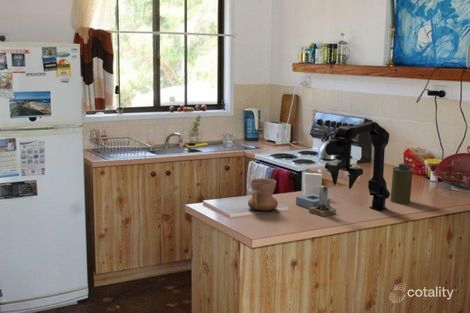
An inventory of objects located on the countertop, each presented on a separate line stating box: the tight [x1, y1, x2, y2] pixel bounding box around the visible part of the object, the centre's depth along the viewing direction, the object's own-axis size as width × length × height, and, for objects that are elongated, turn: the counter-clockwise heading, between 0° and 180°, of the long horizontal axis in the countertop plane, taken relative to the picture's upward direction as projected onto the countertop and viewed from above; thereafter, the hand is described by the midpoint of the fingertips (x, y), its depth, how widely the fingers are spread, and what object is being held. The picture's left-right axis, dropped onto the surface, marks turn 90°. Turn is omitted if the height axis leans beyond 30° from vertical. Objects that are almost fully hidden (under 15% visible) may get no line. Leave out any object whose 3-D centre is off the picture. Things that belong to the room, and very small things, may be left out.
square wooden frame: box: [308, 206, 337, 217], centre depth 287 cm, size 9×9×2 cm
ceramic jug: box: [247, 177, 279, 212], centre depth 289 cm, size 18×14×14 cm
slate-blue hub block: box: [295, 194, 331, 209], centre depth 300 cm, size 12×12×4 cm
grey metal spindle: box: [318, 184, 329, 211], centre depth 286 cm, size 4×4×13 cm
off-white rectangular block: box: [303, 172, 323, 195], centre depth 319 cm, size 9×9×12 cm
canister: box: [389, 162, 414, 205], centre depth 313 cm, size 11×10×20 cm
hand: (342, 186), depth 278 cm, fingers open, 9 cm apart
